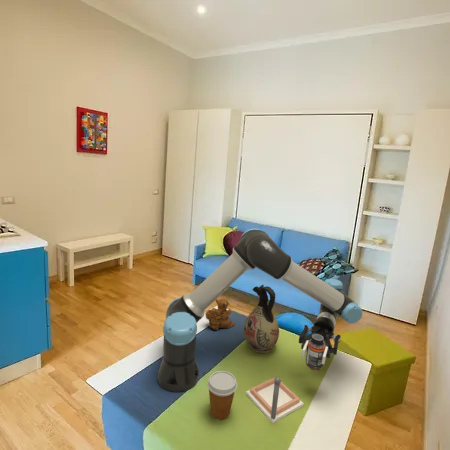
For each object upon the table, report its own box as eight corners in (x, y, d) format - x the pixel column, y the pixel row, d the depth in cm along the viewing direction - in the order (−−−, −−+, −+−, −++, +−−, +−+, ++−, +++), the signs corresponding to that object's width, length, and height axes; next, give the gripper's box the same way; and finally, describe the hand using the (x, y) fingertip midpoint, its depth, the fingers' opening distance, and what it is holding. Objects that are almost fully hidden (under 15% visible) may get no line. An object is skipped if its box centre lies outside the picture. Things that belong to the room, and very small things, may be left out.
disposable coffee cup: (224, 429, 94) (227, 396, 91) (199, 414, 99) (201, 382, 96) (240, 409, 102) (242, 377, 99) (216, 396, 107) (218, 365, 104)
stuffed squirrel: (236, 325, 152) (238, 300, 150) (215, 335, 142) (217, 309, 140) (221, 316, 159) (223, 293, 156) (201, 326, 149) (202, 301, 146)
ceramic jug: (235, 342, 138) (240, 280, 131) (262, 333, 146) (268, 274, 140) (259, 365, 124) (266, 296, 118) (287, 353, 132) (295, 289, 126)
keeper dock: (272, 423, 97) (277, 381, 94) (245, 393, 109) (249, 355, 105) (303, 405, 105) (308, 366, 102) (275, 380, 116) (279, 343, 113)
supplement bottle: (310, 357, 113) (314, 329, 110) (325, 366, 109) (330, 337, 106) (301, 364, 109) (305, 335, 106) (316, 373, 105) (321, 344, 102)
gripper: (348, 341, 120) (341, 377, 100) (300, 326, 128) (284, 357, 108) (351, 323, 118) (344, 356, 98) (302, 310, 126) (286, 338, 106)
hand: (313, 356), depth 103 cm, fingers closed on supplement bottle, 6 cm apart
